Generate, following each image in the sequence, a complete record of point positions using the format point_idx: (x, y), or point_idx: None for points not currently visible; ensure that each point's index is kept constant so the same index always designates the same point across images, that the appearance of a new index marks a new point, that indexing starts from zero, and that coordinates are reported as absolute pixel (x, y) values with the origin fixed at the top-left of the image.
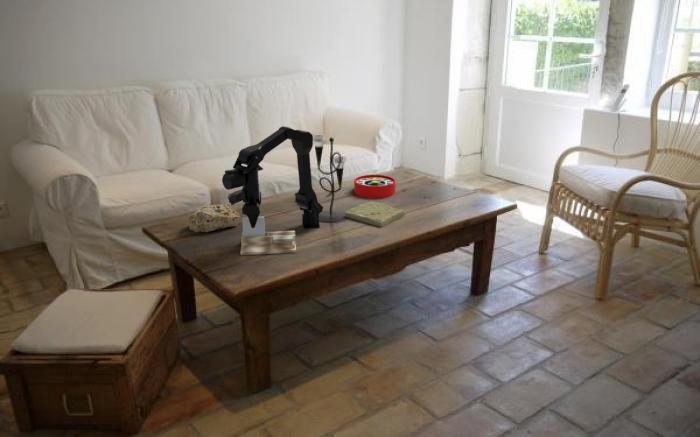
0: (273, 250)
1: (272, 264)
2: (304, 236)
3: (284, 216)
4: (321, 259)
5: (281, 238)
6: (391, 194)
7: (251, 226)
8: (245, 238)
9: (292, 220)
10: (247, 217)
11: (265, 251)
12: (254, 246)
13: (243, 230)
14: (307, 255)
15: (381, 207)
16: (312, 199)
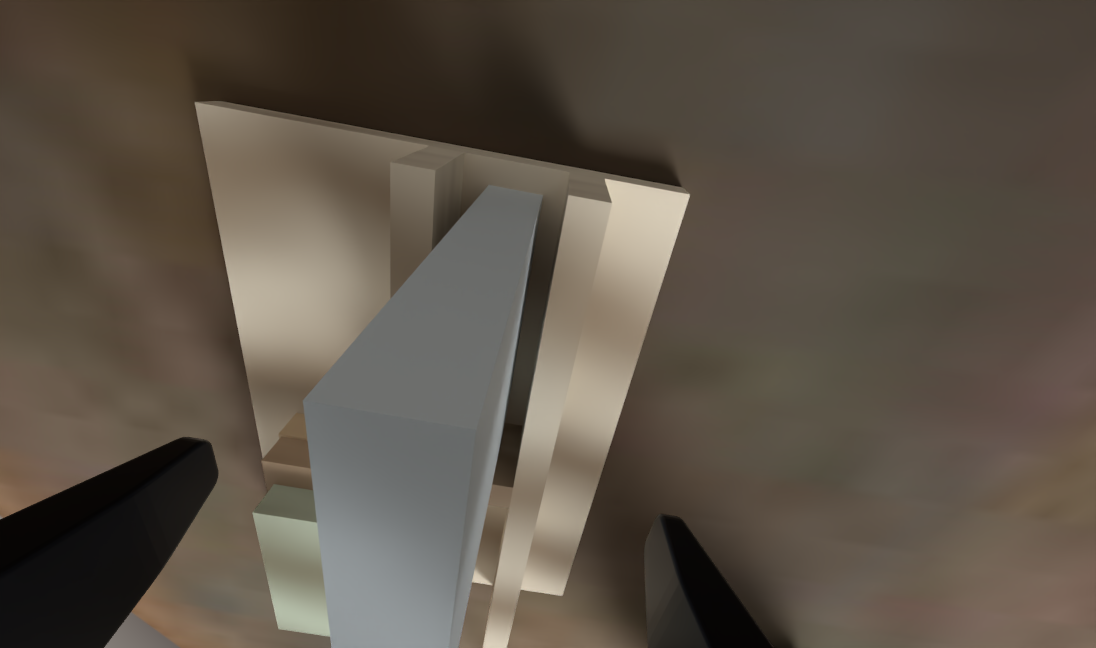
0: (266, 429)
1: (42, 367)
2: (571, 617)
3: (1072, 604)
4: (186, 609)
5: (283, 569)
6: None
7: (142, 461)
8: (394, 229)
9: (931, 625)
10: (413, 547)
11: (247, 367)
12: (379, 291)
13: (441, 250)
14: (242, 571)
15: None
16: None
